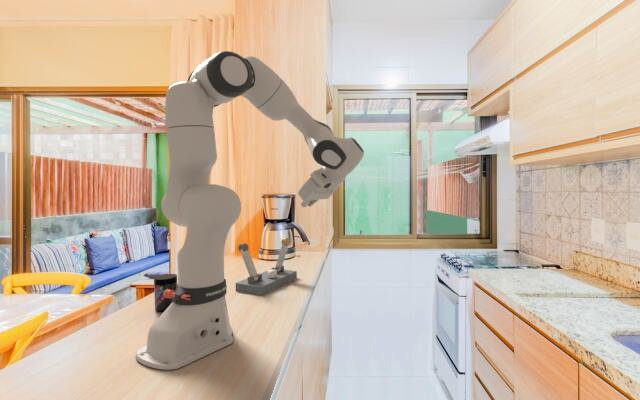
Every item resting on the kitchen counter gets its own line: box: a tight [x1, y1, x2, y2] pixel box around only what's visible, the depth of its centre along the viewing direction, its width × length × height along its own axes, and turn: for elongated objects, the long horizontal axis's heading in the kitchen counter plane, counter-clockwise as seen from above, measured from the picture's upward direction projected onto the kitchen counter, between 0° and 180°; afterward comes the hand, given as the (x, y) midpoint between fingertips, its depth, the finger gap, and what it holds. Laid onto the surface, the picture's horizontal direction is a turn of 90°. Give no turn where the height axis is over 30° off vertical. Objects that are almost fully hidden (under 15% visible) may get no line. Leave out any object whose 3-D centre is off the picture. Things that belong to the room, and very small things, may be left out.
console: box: [235, 264, 298, 296], centre depth 126 cm, size 24×12×5 cm, turn 153°
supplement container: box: [153, 273, 178, 313], centre depth 101 cm, size 7×7×10 cm
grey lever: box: [237, 242, 260, 282], centre depth 120 cm, size 3×3×15 cm
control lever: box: [274, 237, 291, 272], centre depth 131 cm, size 3×3×15 cm
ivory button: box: [267, 268, 277, 278], centre depth 125 cm, size 4×4×3 cm
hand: (305, 205), depth 118 cm, fingers open, 3 cm apart
